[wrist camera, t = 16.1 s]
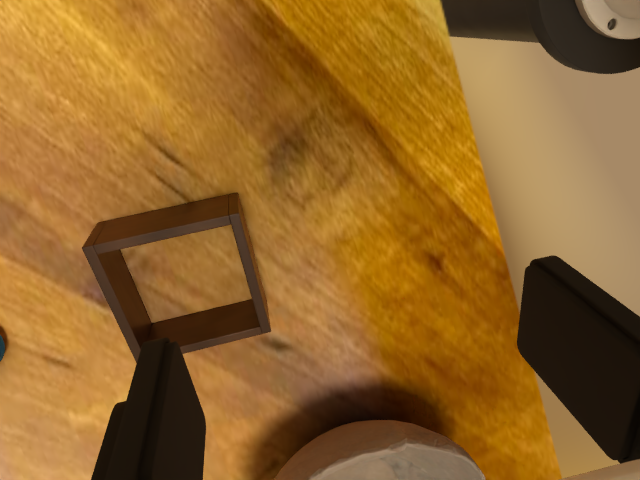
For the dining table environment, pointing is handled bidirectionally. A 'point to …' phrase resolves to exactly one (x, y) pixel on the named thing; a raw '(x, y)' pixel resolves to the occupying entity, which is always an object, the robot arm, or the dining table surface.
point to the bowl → (380, 455)
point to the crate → (163, 225)
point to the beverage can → (2, 348)
